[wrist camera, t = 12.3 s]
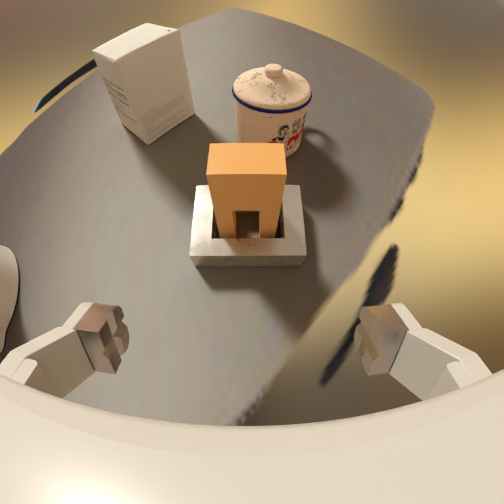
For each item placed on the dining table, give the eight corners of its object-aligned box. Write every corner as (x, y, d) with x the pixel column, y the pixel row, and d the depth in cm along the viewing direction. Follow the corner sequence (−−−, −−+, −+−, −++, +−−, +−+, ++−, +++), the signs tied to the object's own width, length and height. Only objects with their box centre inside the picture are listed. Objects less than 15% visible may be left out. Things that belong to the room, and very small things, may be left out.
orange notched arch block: (272, 219, 31) (283, 143, 20) (273, 244, 30) (286, 174, 18) (222, 219, 31) (209, 143, 19) (221, 244, 30) (206, 174, 18)
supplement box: (164, 95, 40) (147, 21, 26) (196, 114, 37) (182, 28, 24) (120, 123, 37) (89, 49, 23) (147, 147, 35) (114, 60, 21)
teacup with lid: (274, 174, 33) (283, 99, 22) (220, 140, 35) (213, 69, 24) (324, 129, 36) (342, 63, 26) (275, 101, 39) (281, 38, 28)
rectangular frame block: (301, 265, 29) (306, 255, 26) (195, 266, 29) (189, 255, 26) (295, 200, 32) (299, 185, 29) (200, 200, 32) (196, 185, 29)
